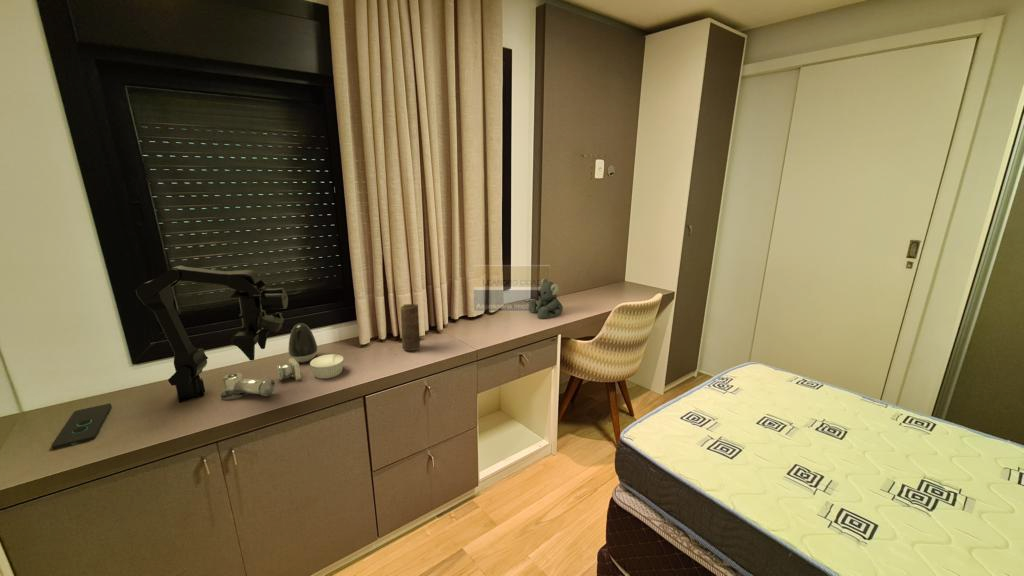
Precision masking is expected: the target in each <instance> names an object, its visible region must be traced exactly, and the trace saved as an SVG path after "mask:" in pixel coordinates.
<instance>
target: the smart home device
mask: <svg viewBox="0 0 1024 576" xmlns="http://www.w3.org/2000/svg"><path fill="white" fill-rule="evenodd" d="M111 410H112V403H105V404H100V405H95V406H90V407H87V408H86V407H85V408H82V409H78V410H74V412H72V414H71V415H70V417H69V418H68V420H66V423H65V424H64V426H63V427H62V429H61V430H60V431H59V433H58V435H57V436H56V438H55V439H54V441H53V442H52V444H51V449H52V451H55V450H58V449H63V448H67V447H71V446H75V445H79V444H83V443H88V442H91V441H94V440H96V439H97V437H98V435H99V433H100V431H101V429H102V427H103V425H104V423H105V421H107V418H108V416H109V414H110V413H111Z"/></svg>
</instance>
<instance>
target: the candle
mask: <svg viewBox="0 0 1024 576" xmlns="http://www.w3.org/2000/svg"><path fill="white" fill-rule="evenodd" d="M418 307H419V305H418V304H417V303H406V304H403V305H402V306H401V307H400V324H401V325H400V327H401V343H402V350H405V351H417V350H420V349H421V343H420V342H421V340H420V339H421V338H420V323H419V321H420V320H419V308H418Z"/></svg>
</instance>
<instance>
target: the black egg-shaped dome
mask: <svg viewBox="0 0 1024 576" xmlns="http://www.w3.org/2000/svg"><path fill="white" fill-rule="evenodd" d="M287 350H288V351H287V352H288V355H289V356H290V358H294V359H295V360H296V361H297V362H298V363H306V362H311V361H312V360H313V359H315V358H316V355H317V352H318V344H317V341H316V338H315V336H314V333H313V332H312V330H311V329H310V327H309V326H308V325H307V324H305V323H297V324H295V325H294V326H293V328H292V329H291V332H290V335H289V339H288V349H287Z"/></svg>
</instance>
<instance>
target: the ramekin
mask: <svg viewBox="0 0 1024 576" xmlns="http://www.w3.org/2000/svg"><path fill="white" fill-rule="evenodd" d="M344 361H345V359H344V356H342V355H339V354H333V353H332V354H331V353H330V354H324V355H320V356H317V357H314V358H313V359H311V360H310V361H309V365H310V368H311V370H312V373H313V376H314V377H315V378H318V379H320V380H321V379H322V380H324V379H332V378H334V377H337V376H338V375H340V374H341V373H342V371H343V367H344Z"/></svg>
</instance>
